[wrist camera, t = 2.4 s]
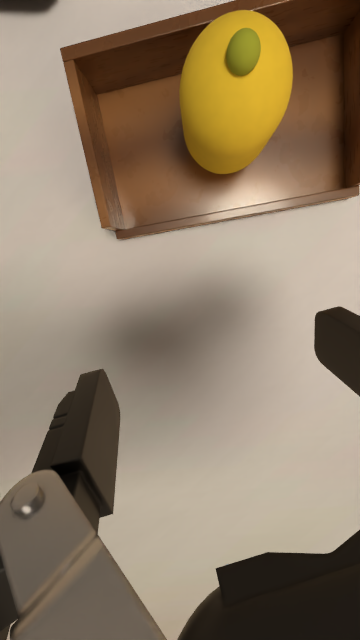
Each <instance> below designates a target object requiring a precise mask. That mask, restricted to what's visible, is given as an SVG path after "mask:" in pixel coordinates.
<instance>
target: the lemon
mask: <svg viewBox="0 0 360 640" xmlns="http://www.w3.org/2000/svg"><path fill="white" fill-rule="evenodd" d="M292 80H293V69H292V59H291V54H290V51H289V47H288V44H287V42H286V39H285V37H284V36H283V34H282V32H281V31H280V29H279V28H278V27H277V25H276V24H275V23H273V22H272V21H271V20H270V19H269V18H267V17H266V16H264V15H262V14H260V13H258V12H254V11H249V10H239V11H233V12H229V13H227V14H224V15H222V16H220V17H219V18H217V19H215V20H214V21H213V22H211V23H210V24H209V25H208V26H207V27H206V28H205V29H204V30H203V31H202V32H201V33H200V35H199V36H198V37H197V39H196V40H195V42H194V43H193V45H192V47H191V49H190V51H189V53H188V55H187V58H186V60H185V63H184V66H183V70H182V75H181V80H180V89H179V95H180V109H181V117H182V125H183V133H184V138H185V142H186V145H187V148H188V150H189V152H190V154H191V156H192V157H193V158H194V160H195V161H196V162H197V163H198V164H199V165H200V166H201V167H203V168H204V169H206V170H208V171H210V172H213V173H216V174H229V173H233V172H237V171H239V170H241V169H243V168H245V167H246V166H248V165H249V164H250V163H251V162H253V161H254V160H255V158H256V157H257V156H258V155H259V154H260V152H261V151H262V150H263V148H264V147H265V145H266V144H267V142H268V141H269V139H270V138H271V136H272V135H273V133H274V132H275V130H276V129H277V127H278V125H279V123H280V122H281V120H282V118H283V116H284V113H285V111H286V109H287V106H288V102H289V99H290V94H291V89H292Z"/></svg>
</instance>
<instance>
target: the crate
mask: <svg viewBox="0 0 360 640" xmlns="http://www.w3.org/2000/svg"><path fill="white" fill-rule="evenodd" d="M239 10H249V11H254V12H258V13H260V14H262V15H264V16H266V17H267V18H269V19H270V20H271V21H272V22H273V23H275V24H276V25H277V27H278V28H279V29H280V31H281V32H282V34H283V36H284V37H285V39H286V42H287V44H288V47H289V51H290V54H291V59H292V69H293V80H292V89H291V94H290V99H289V102H288V106H287V109H286V111H285V113H284V116H283V118H282V120H281V122H280V123H279V125H278V127H277V129H276V130H275V132H274V133H273V135H272V136H271V138H270V139H269V141H268V142H267V144H266V145H265V147H264V148H263V150H262V151H261V152H260V154H259V155H258V156H257V157H256V158H255V160H254V161H253V162H251V163H250V164H249V165H248V166H246V167H245V168H243V169H241V170H239V171H237V172H233V173H229V174H216V173H213V172H210V171H208V170H206V169H204V168H203V167H201V166H200V165H199V164H198V163H197V162H196V161H195V160H194V158H193V157H192V156H191V154H190V152H189V150H188V148H187V145H186V142H185V138H184V133H183V125H182V117H181V109H180V95H179V89H180V80H181V75H182V70H183V66H184V63H185V60H186V58H187V55H188V53H189V51H190V49H191V47H192V45H193V43H194V42H195V40H196V39H197V37H198V36H199V35H200V33H201V32H202V31H203V30H204V29H205V28H206V27H207V26H208V25H209V24H210V23H211V22H213V21H214V20H215V19H217V18H219V17H220V16H222V15H224V14H227V13H229V12H233V11H239ZM60 50H61V55H62V59H63V62H64V67H65V72H66V76H67V80H68V84H69V89H70V93H71V97H72V102H73V106H74V110H75V114H76V119H77V123H78V127H79V132H80V136H81V140H82V145H83V149H84V153H85V157H86V162H87V166H88V170H89V175H90V179H91V183H92V188H93V192H94V196H95V200H96V205H97V209H98V213H99V218H100V222H101V226H102V228H104V229H109V230H114V231H116V237H117V239H120V240H124V239H129V238H135V237H140V236H146V235H151V234H157V233H162V232H168V231H173V230H179V229H184V228H190V227H195V226H201V225H206V224H212V223H217V222H223V221H228V220H234V219H239V218H245V217H250V216H256V215H261V214H266V213H272V212H277V211H283V210H288V209H294V208H299V207H305V206H310V205H316V204H321V203H327V202H332V201H338V200H343V199H348V198H351V197H355V196H358V195H359V186H358V185H360V0H235V1H231V2H228V3H224V4H220V5H217V6H213V7H209V8H206V9H202V10H198V11H195V12H191V13H187V14H184V15H180V16H176V17H173V18H169V19H165V20H162V21H158V22H155V23H151V24H147V25H144V26H140V27H136V28H133V29H129V30H125V31H122V32H118V33H114V34H111V35H107V36H103V37H100V38H96V39H92V40H89V41H85V42H81V43H78V44H74V45H71V46H67V47H63V48H60Z"/></svg>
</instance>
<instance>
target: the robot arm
mask: <svg viewBox="0 0 360 640" xmlns="http://www.w3.org/2000/svg"><path fill="white" fill-rule="evenodd" d="M314 348H315V353H316V356H317V358H318V360H319V361H320V362H321V363H322V364H323V365H324V366H325V367H326V368H327V369H329V370H330V371H331V372H332V373H333V374H334V375H335V376H337V377H338V378H339V379H340V380H341V381H342V382H344V383H345V384H346V385H347V386H348V387H349V388H351V389H352V390H353V391H354V392H355V393H356V394H358V395H359V396H360V316H359V315H357V314H355V313H353V312H351V311H349V310H347V309H345V308H343V307H335V308H331V309H327V310H323V311H320V312H318V313H317V314H316V316H315V342H314ZM53 418H54V419H53V420H52V422H51V424H50V427H49V429H50V430H49V431H48V432H47V435H46V437H45V440H44V442H43V445H42V447H41V450H40V453H39V455H38V458H37V460H36V463H35V465H34V468H33V470H32V473H31V474H30V475H28V476H26V477H25V478H23V479H22V480H21V481H19V482H18V483H17V484H16V485H14V486H13V487H12V488H11V489H10V490H9V492H8V493H7V494H6V495H5V496H4V498H3V499H2V501H1V502H0V640H6V639H7V636H8V632H9V628H10V624H11V623H13V622H14V621H16V620H17V619H18V620H17V621H16V622H15V623H14V624H13V625H12V627H11V629H10V640H167V639H166V638H165V636H164V634H163V633H162V631H161V630H160V628H159V627H158V625H157V624H156V622H155V621H154V619H153V618H152V616H151V615H150V613H149V612H148V610H147V609H146V607H145V606H144V604H143V603H142V601H141V600H140V598H139V597H138V595H137V593H136V592H135V590H134V589H133V587H132V586H131V584H130V583H129V581H128V580H127V578H126V577H125V575H124V574H123V572H122V571H121V569H120V568H119V566H118V565H117V563H116V562H115V560H114V559H113V557H112V555H111V554H110V552H109V551H108V549H107V548H106V546H105V545H104V543H103V542H102V540H101V539H100V537H99V536H98V525H99V518H100V517H104V516H107V515H111V514H113V507H114V494H115V481H116V468H117V455H118V442H119V428H120V409H119V405H118V402H117V399H116V397H115V394H114V392H113V389H112V387H111V385H110V382H109V380H108V377H107V375H106V373H105V371H104V370H103V369H99V370H95V371H92V372H88V373H84V374H81V375H80V377H79V380H78V383H77V386H76V389H75V391H72V392H68V393H67V395H66V396H65V397H64V398H63V399H62V401H61V402H60V403H59V404H58V407H57V409H56V412H55V414H54V417H53ZM216 572H217V576H218V581H219V585H220V586H219V587H218V588H217V589H216V590H214V591H213V592H212V593H210V594H209V595H208V596H207V597H206V598H205V600H204V601H203V602H202V603H201V604H200V605H199V606H198V607H197V609H196V610H195V611H194V613H193V614H192V615H191V617H190V618H189V620H188V621H187V623H186V625H185V627H184V628H183V630H182V632H181V634H180V635H179V637H178V640H360V530H359V531H358V532H356V533H355V534H354V535H353V536H352V537H350V538H349V539H348V540H347V541H345V542H344V543H343V544H342V545H341V546H339V547H338V548H337V549H336V550H334V551H333V552H331V553H328V554H310V553H273V552H267V553H264V554H261V555H258V556H254V557H251V558H248V559H245V560H242V561H238V562H235V563H232V564H229V565H225V566H222V567H219V568H216Z"/></svg>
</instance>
